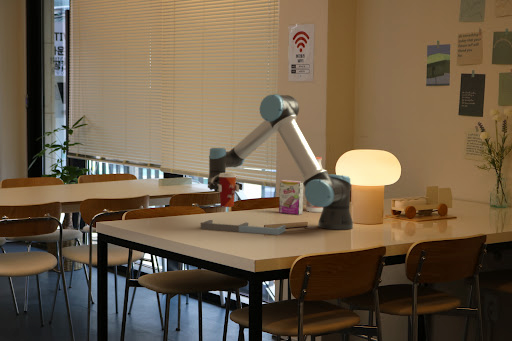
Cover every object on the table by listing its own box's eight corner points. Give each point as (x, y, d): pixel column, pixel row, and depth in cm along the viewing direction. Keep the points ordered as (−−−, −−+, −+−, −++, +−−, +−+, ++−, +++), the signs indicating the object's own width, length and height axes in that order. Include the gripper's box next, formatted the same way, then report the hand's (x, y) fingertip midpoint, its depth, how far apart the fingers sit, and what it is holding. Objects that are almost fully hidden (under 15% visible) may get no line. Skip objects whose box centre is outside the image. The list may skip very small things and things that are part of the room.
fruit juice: (309, 209, 386) (311, 156, 384) (326, 211, 382) (328, 157, 380) (303, 211, 377) (305, 156, 375) (321, 213, 374) (323, 157, 372)
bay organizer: (285, 231, 311) (285, 225, 311) (278, 234, 301) (278, 228, 301) (209, 225, 321) (209, 219, 321) (200, 228, 311) (200, 223, 311)
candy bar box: (278, 213, 369) (279, 180, 368) (282, 212, 373) (283, 179, 372) (298, 215, 364) (299, 181, 362) (303, 214, 368) (304, 181, 367)
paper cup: (233, 207, 310) (234, 174, 309) (216, 206, 311) (216, 173, 310) (237, 205, 317) (238, 173, 316) (220, 204, 319) (221, 172, 318)
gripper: (241, 192, 334) (252, 197, 311) (198, 192, 330) (206, 197, 307) (242, 175, 333) (252, 179, 311) (198, 175, 329) (206, 179, 307)
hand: (229, 188), depth 309 cm, fingers closed on paper cup, 7 cm apart
